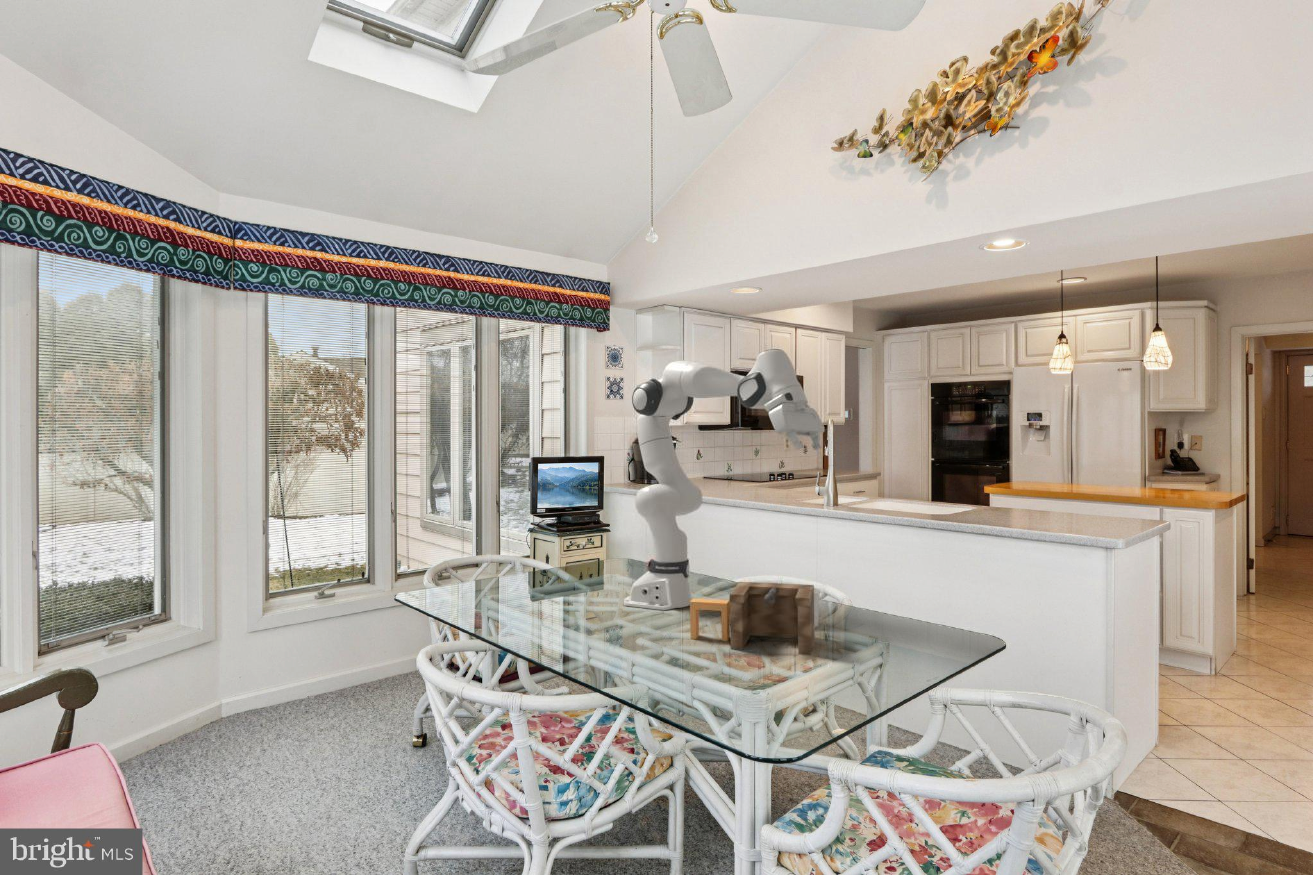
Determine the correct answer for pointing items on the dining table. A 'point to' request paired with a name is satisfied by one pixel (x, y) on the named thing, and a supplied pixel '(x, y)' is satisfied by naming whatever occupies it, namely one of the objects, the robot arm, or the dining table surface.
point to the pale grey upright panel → (816, 606)
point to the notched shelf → (772, 613)
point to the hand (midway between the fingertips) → (809, 449)
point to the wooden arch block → (709, 605)
